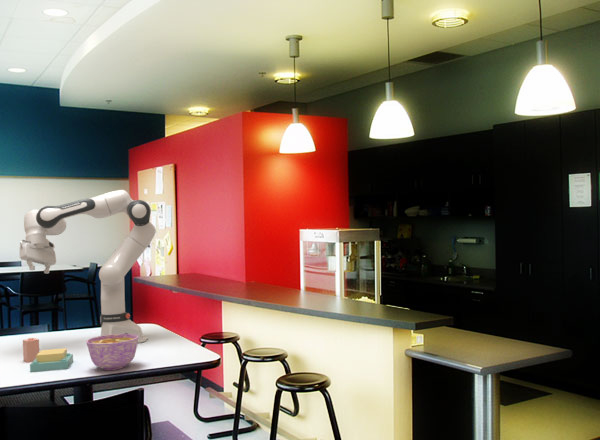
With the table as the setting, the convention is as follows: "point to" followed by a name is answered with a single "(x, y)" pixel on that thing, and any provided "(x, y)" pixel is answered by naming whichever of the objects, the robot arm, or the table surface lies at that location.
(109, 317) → the robot arm
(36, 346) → the tall brick
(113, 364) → the bowl of food
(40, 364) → the stepped square block
